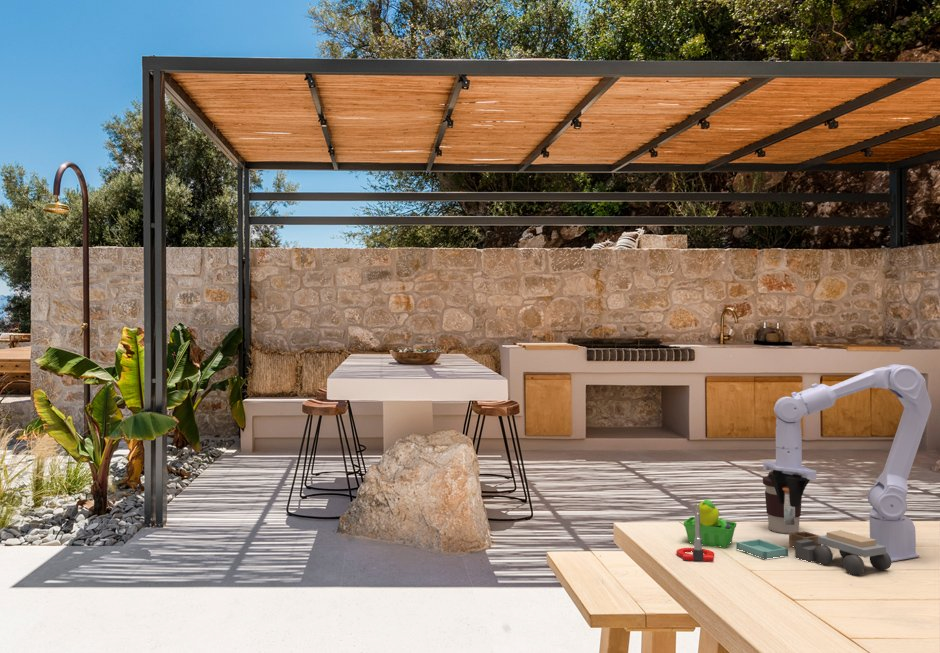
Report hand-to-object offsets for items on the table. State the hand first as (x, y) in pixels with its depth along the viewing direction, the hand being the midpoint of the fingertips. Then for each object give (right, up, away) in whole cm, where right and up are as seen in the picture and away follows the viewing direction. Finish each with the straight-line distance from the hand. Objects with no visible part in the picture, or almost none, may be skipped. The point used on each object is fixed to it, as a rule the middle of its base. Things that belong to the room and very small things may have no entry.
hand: (789, 504), depth 180 cm
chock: (+1, -11, -8) cm, 13 cm away
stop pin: (0, -5, 0) cm, 5 cm away
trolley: (+8, -10, -14) cm, 19 cm away
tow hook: (-24, -11, -5) cm, 27 cm away
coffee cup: (+6, -11, +17) cm, 21 cm away
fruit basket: (-17, -11, +5) cm, 21 cm away
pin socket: (+4, -11, +1) cm, 12 cm away
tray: (-8, -11, -3) cm, 13 cm away
